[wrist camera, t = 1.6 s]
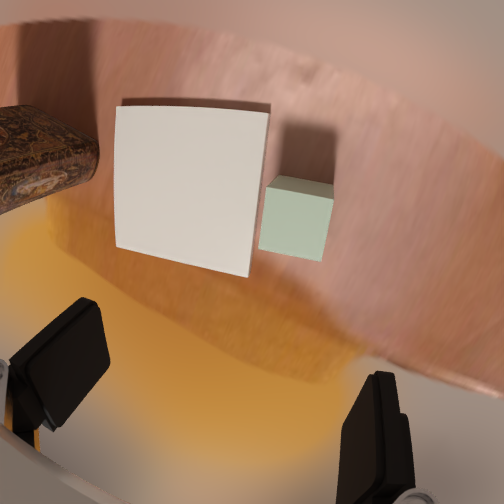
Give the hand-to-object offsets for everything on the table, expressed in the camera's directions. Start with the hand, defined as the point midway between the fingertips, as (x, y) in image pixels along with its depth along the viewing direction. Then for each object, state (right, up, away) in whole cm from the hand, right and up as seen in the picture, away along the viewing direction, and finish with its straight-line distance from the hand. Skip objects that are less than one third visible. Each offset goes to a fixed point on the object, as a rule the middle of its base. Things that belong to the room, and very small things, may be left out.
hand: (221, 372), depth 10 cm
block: (+6, +8, +19) cm, 22 cm away
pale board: (-6, +11, +21) cm, 25 cm away
